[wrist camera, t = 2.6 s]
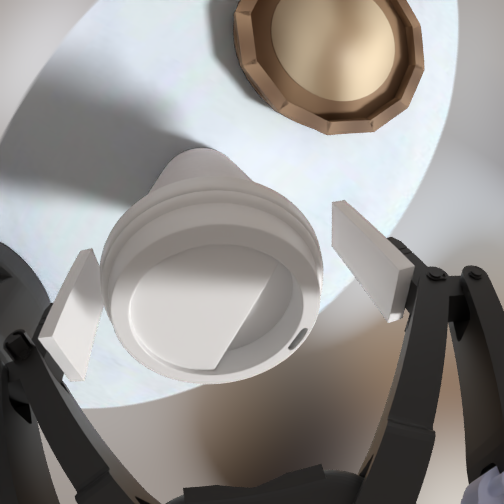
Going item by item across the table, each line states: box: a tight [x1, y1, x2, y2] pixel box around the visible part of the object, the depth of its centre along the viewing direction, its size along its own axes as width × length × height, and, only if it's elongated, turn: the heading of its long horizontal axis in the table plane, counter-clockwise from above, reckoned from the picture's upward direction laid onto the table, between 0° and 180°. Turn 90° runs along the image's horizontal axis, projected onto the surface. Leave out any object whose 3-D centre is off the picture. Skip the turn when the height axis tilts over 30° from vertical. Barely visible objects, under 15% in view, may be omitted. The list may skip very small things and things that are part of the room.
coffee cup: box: [100, 148, 323, 384], centre depth 17 cm, size 10×10×15 cm
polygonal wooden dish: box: [233, 0, 424, 135], centre depth 18 cm, size 16×16×2 cm
